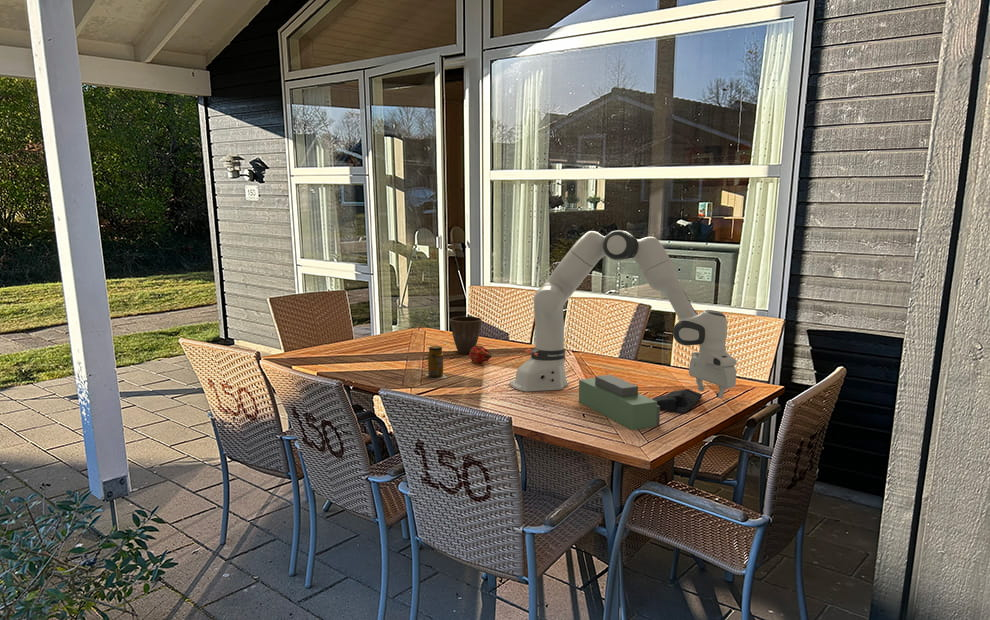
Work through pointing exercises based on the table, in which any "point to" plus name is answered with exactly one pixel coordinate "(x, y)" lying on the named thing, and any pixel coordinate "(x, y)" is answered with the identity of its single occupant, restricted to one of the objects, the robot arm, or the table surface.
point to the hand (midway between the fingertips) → (710, 394)
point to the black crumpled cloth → (678, 400)
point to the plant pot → (465, 332)
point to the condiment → (435, 363)
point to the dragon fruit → (479, 354)
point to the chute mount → (619, 401)
